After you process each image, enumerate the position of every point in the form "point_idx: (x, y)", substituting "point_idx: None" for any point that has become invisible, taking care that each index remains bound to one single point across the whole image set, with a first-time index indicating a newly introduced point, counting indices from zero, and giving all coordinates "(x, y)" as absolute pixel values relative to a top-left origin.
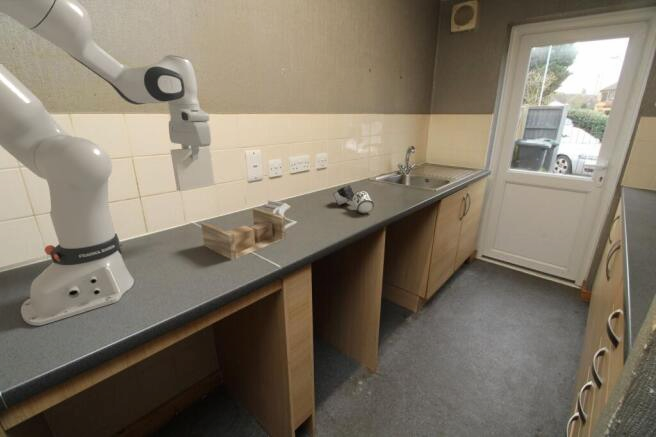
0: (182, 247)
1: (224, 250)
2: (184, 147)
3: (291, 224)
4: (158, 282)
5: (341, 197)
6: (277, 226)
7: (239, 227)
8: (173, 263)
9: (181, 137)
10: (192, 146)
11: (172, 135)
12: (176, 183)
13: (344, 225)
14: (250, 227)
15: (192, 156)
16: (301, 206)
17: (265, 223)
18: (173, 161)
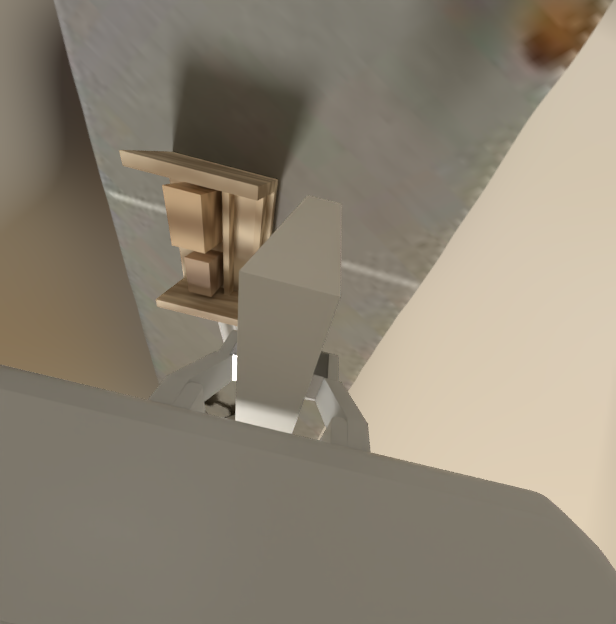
0: (335, 161)
1: (182, 158)
2: (330, 421)
3: (223, 332)
4: None
5: None
6: (182, 291)
7: (201, 238)
8: (276, 67)
9: (284, 532)
10: (156, 398)
11: (558, 616)
12: (335, 208)
13: (178, 359)
14: (207, 262)
15: (231, 342)
16: None
17: (200, 289)
18: (317, 240)
